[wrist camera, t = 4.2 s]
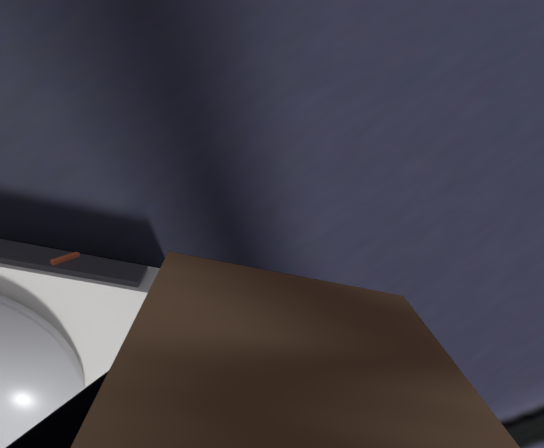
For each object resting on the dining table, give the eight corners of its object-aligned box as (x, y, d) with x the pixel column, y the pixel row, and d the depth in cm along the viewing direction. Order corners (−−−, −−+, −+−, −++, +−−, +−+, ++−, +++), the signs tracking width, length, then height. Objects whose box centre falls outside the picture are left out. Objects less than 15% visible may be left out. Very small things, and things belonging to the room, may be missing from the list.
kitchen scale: (171, 262, 20) (155, 296, 17) (138, 452, 24) (120, 511, 20) (-114, 209, 18) (-193, 235, 15) (-102, 422, 22) (-164, 480, 19)
